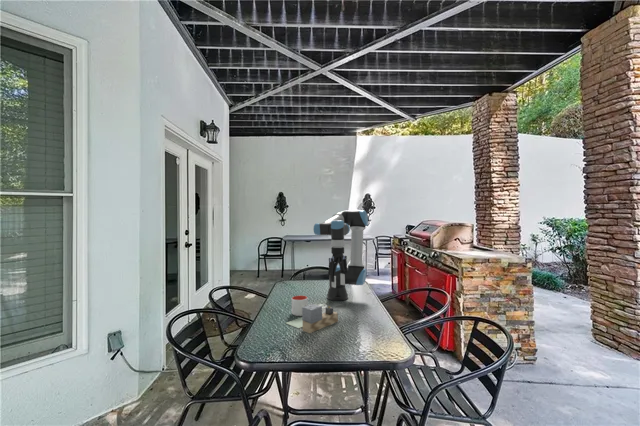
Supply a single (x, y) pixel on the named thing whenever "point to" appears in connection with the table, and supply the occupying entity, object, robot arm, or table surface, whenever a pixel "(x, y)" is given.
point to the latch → (329, 310)
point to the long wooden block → (321, 322)
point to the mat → (296, 323)
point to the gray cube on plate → (312, 313)
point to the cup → (298, 304)
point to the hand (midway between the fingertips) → (338, 285)
